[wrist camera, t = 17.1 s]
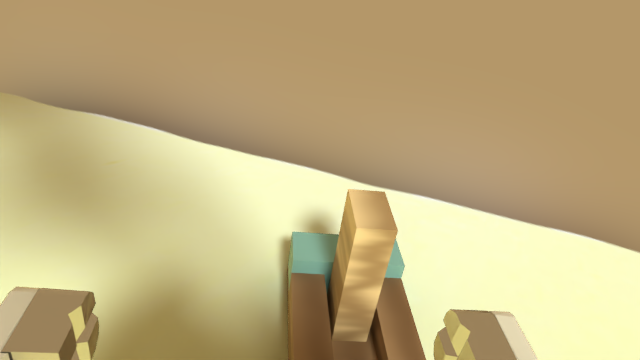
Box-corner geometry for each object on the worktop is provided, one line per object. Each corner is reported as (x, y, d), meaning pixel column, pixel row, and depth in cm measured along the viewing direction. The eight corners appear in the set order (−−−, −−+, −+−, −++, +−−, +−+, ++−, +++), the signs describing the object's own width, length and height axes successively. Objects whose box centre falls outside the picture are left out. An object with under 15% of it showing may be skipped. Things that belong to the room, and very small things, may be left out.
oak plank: (331, 340, 39) (356, 227, 32) (326, 296, 43) (348, 189, 37) (366, 341, 39) (397, 230, 33) (358, 297, 43) (384, 191, 37)
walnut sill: (290, 487, 29) (298, 444, 27) (287, 270, 46) (292, 231, 44) (441, 485, 31) (463, 445, 28) (384, 275, 48) (395, 238, 45)
